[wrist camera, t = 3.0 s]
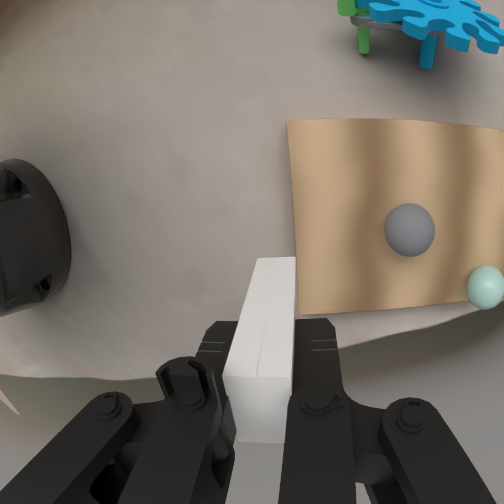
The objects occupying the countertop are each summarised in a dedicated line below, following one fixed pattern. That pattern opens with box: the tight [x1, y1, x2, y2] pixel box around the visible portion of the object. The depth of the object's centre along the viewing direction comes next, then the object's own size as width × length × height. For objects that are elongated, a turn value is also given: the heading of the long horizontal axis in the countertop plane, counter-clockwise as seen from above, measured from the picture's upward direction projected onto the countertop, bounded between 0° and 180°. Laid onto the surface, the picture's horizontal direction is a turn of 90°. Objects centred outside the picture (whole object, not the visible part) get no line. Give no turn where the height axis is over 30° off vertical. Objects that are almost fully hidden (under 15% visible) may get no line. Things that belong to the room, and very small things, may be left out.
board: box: [286, 119, 504, 315], centre depth 18 cm, size 32×13×2 cm, turn 96°
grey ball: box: [384, 203, 435, 257], centre depth 17 cm, size 3×3×3 cm
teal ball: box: [467, 265, 504, 309], centre depth 17 cm, size 3×3×3 cm
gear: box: [337, 0, 504, 70], centre depth 13 cm, size 11×6×10 cm
